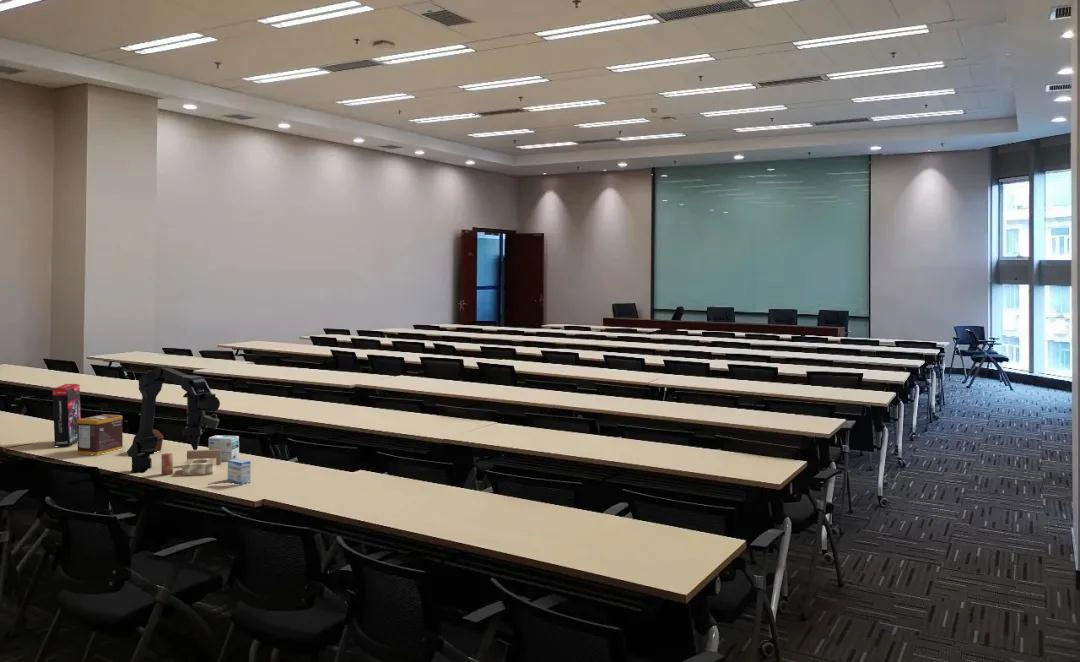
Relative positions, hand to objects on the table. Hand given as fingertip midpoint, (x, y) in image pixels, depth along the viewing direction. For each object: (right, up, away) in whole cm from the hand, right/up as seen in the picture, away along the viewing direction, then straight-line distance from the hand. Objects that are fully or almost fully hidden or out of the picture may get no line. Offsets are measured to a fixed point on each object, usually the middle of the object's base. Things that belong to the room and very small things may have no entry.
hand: (195, 449), depth 309 cm
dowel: (-13, -12, +5) cm, 18 cm away
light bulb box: (-2, -10, +34) cm, 36 cm away
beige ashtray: (-3, -10, +11) cm, 15 cm away
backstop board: (-4, -11, +14) cm, 18 cm away
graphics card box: (-87, -7, +64) cm, 108 cm away
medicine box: (+18, -13, -2) cm, 22 cm away
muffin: (-42, -9, +50) cm, 66 cm away
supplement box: (-63, -8, +49) cm, 80 cm away
